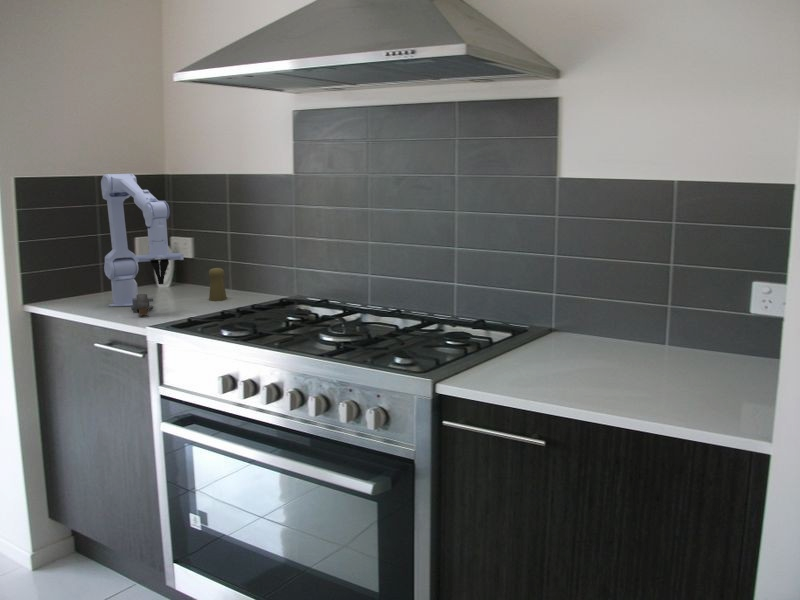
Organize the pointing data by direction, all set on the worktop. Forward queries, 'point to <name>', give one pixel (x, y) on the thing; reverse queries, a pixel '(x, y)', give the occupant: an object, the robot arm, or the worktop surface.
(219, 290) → the cork
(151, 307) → the pintle base
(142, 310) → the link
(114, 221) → the robot arm
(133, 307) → the keeper
